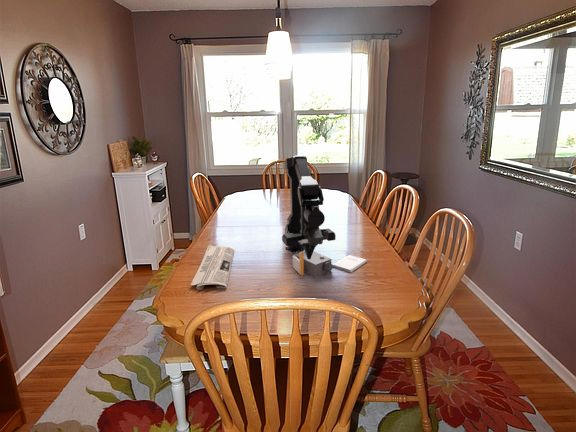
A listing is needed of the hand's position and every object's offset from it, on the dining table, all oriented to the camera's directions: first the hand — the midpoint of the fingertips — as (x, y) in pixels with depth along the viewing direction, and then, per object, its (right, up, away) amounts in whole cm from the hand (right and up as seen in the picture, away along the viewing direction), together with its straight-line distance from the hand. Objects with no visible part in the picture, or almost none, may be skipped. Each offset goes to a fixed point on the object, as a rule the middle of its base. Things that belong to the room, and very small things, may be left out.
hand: (308, 259), depth 138 cm
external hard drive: (+16, -4, +9) cm, 19 cm away
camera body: (+2, -4, +6) cm, 7 cm away
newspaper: (-36, -5, +8) cm, 37 cm away
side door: (-4, -5, +4) cm, 7 cm away
